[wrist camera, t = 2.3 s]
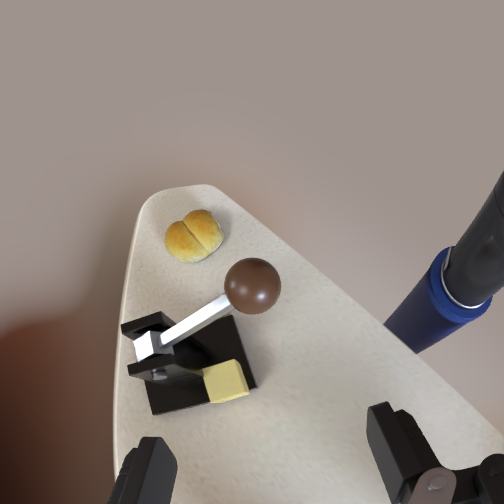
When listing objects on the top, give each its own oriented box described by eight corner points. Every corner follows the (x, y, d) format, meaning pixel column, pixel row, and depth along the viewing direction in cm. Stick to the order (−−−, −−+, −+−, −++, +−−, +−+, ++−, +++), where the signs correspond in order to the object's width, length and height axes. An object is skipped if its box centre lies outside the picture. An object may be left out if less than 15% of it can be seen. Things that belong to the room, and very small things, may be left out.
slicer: (233, 317, 38) (203, 269, 26) (258, 388, 33) (236, 375, 21) (141, 347, 38) (80, 314, 26) (156, 415, 32) (92, 410, 21)
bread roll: (161, 239, 47) (152, 225, 43) (208, 210, 48) (201, 195, 45) (182, 276, 42) (172, 263, 39) (233, 244, 44) (227, 228, 41)
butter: (239, 363, 34) (234, 358, 31) (250, 393, 32) (245, 392, 29) (209, 373, 34) (200, 369, 31) (218, 403, 32) (210, 402, 29)
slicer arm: (279, 255, 23) (249, 239, 20) (299, 301, 21) (269, 291, 17) (157, 336, 28) (124, 331, 25) (165, 372, 26) (131, 371, 23)
